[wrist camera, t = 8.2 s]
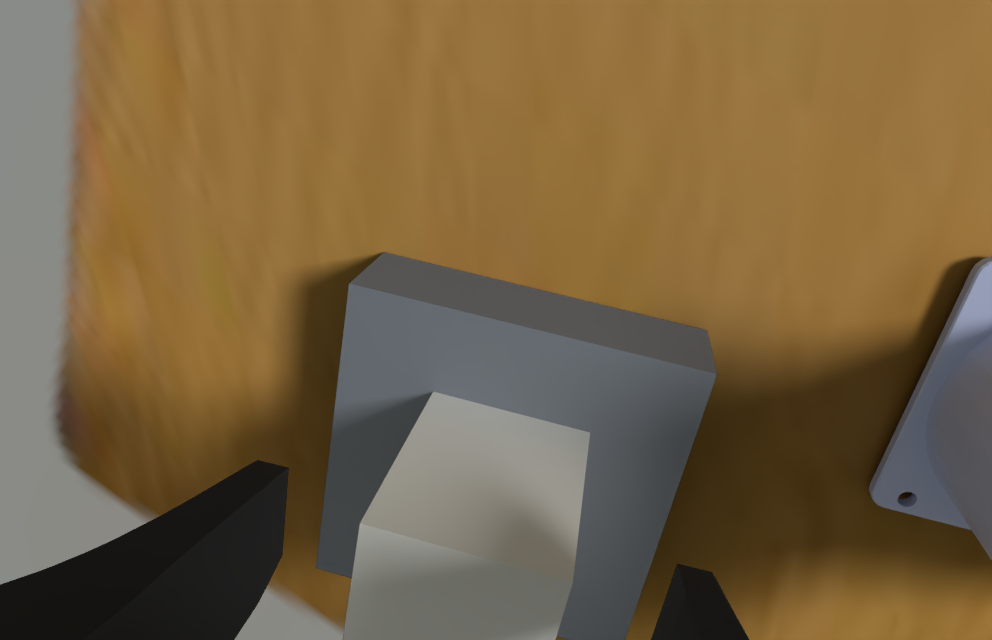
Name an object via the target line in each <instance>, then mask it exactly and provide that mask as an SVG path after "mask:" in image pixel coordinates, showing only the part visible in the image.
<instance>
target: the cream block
mask: <svg viewBox="0 0 992 640" xmlns="http://www.w3.org/2000/svg"><path fill="white" fill-rule="evenodd" d="M589 438H590V432H586V431H582V430H578V429H574V428H571V427H567V426H563V425H559V424H555V423H552V422H548V421H544V420H540V419H536V418H532V417H529V416H525V415H521V414H517V413H513V412H509V411H506V410H502V409H498V408H494V407H490V406H487V405H483V404H479V403H475V402H471V401H467V400H464V399H460V398H456V397H452V396H448V395H445V394H441V393H437V392H433V393H432V395H431V397H430V398H429V400H428V402H427V404H426V406H425V407H424V409H423V411H422V413H421V415H420V416H419V418H418V420H417V422H416V423H415V425H414V427H413V429H412V431H411V432H410V434H409V436H408V438H407V440H406V441H405V443H404V445H403V447H402V449H401V450H400V452H399V454H398V456H397V458H396V459H395V461H394V463H393V465H392V467H391V468H390V470H389V472H388V474H387V476H386V477H385V479H384V481H383V483H382V485H381V486H380V488H379V490H378V492H377V494H376V495H375V497H374V499H373V501H372V502H371V504H370V506H369V508H368V510H367V511H366V513H365V515H364V517H363V519H362V520H361V522H360V526H359V533H358V539H357V546H356V553H355V560H354V566H353V573H352V580H351V587H350V594H349V600H348V607H347V614H346V621H345V627H344V634H343V640H556V636H557V633H558V630H559V627H560V623H561V620H562V617H563V613H564V610H565V607H566V603H567V600H568V597H569V594H570V590H571V587H572V584H573V576H574V568H575V559H576V550H577V542H578V533H579V524H580V516H581V507H582V499H583V490H584V481H585V473H586V464H587V455H588V447H589Z"/></svg>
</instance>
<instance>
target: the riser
mask: <svg viewBox="0 0 992 640" xmlns="http://www.w3.org/2000/svg"><path fill="white" fill-rule="evenodd" d="M716 376H717V371H716V367H715V363H714V358H713V354H712V349H711V345H710V341H709V336H708V332H707V330H704V329H700V328H695V327H691V326H687V325H683V324H679V323H675V322H671V321H666V320H662V319H658V318H654V317H650V316H646V315H642V314H637V313H633V312H629V311H625V310H621V309H617V308H612V307H608V306H604V305H600V304H596V303H592V302H588V301H583V300H579V299H575V298H571V297H567V296H563V295H559V294H554V293H550V292H546V291H542V290H538V289H534V288H530V287H525V286H521V285H517V284H513V283H509V282H505V281H501V280H496V279H492V278H488V277H484V276H480V275H476V274H472V273H467V272H463V271H459V270H455V269H451V268H447V267H443V266H438V265H434V264H430V263H426V262H422V261H418V260H414V259H409V258H405V257H401V256H397V255H393V254H389V253H385V252H384V253H383V254H381V255H380V256H379V257H378V258H377V259H376V260H375V261H374V262H373V263H371V264H370V265H369V266H368V267H367V268H366V269H365V270H364V271H362V272H361V273H360V274H359V275H358V276H357V277H356V278H355V279H354V280H352V281H351V282H350V283H349V288H348V297H347V305H346V314H345V323H344V331H343V340H342V348H341V357H340V366H339V374H338V383H337V391H336V400H335V409H334V417H333V426H332V434H331V443H330V452H329V460H328V469H327V477H326V486H325V495H324V503H323V512H322V520H321V529H320V538H319V546H318V555H317V563H316V568H318V569H321V570H325V571H328V572H332V573H335V574H339V575H342V576H346V577H349V578H352V573H353V566H354V560H355V553H356V546H357V539H358V533H359V526H360V522H361V520H362V519H363V517H364V515H365V513H366V511H367V510H368V508H369V506H370V504H371V502H372V501H373V499H374V497H375V495H376V494H377V492H378V490H379V488H380V486H381V485H382V483H383V481H384V479H385V477H386V476H387V474H388V472H389V470H390V468H391V467H392V465H393V463H394V461H395V459H396V458H397V456H398V454H399V452H400V450H401V449H402V447H403V445H404V443H405V441H406V440H407V438H408V436H409V434H410V432H411V431H412V429H413V427H414V425H415V423H416V422H417V420H418V418H419V416H420V415H421V413H422V411H423V409H424V407H425V406H426V404H427V402H428V400H429V398H430V397H431V395H432V393H433V392H437V393H441V394H445V395H448V396H452V397H456V398H460V399H464V400H467V401H471V402H475V403H479V404H483V405H487V406H490V407H494V408H498V409H502V410H506V411H509V412H513V413H517V414H521V415H525V416H529V417H532V418H536V419H540V420H544V421H548V422H552V423H555V424H559V425H563V426H567V427H571V428H574V429H578V430H582V431H586V432H590V438H589V447H588V455H587V464H586V473H585V481H584V490H583V499H582V507H581V516H580V524H579V533H578V542H577V550H576V559H575V568H574V576H573V584H572V587H571V590H570V594H569V597H568V600H567V603H566V607H565V610H564V613H563V617H562V620H561V623H560V627H559V630H558V633H557V637H561V638H564V639H568V640H625V638H626V635H627V632H628V629H629V626H630V623H631V621H632V618H633V615H634V612H635V609H636V606H637V603H638V600H639V598H640V595H641V592H642V589H643V586H644V583H645V580H646V577H647V575H648V572H649V569H650V566H651V563H652V560H653V557H654V554H655V552H656V549H657V546H658V543H659V540H660V537H661V534H662V531H663V529H664V526H665V523H666V520H667V517H668V514H669V511H670V508H671V506H672V503H673V500H674V497H675V494H676V491H677V488H678V485H679V483H680V480H681V477H682V474H683V471H684V468H685V465H686V462H687V460H688V457H689V454H690V451H691V448H692V445H693V442H694V439H695V437H696V434H697V431H698V428H699V425H700V422H701V419H702V416H703V414H704V411H705V408H706V405H707V402H708V399H709V396H710V393H711V391H712V388H713V385H714V382H715V379H716Z"/></svg>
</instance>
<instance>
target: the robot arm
mask: <svg viewBox="0 0 992 640" xmlns="http://www.w3.org/2000/svg"><path fill="white" fill-rule="evenodd" d="M288 471H289V468H287V467H283V466H279V465H275V464H271V463H267V462H263V461H259V460H257V461H255V462H253V463H252V464H250V465H248V466H246V467H245V468H243V469H241V470H240V471H238V472H236V473H234V474H233V475H231V476H229V477H228V478H226V479H224V480H222V481H221V482H219V483H217V484H216V485H214V486H212V487H211V488H209V489H207V490H205V491H204V492H202V493H200V494H199V495H197V496H195V497H193V498H192V499H190V500H188V501H186V502H185V503H183V504H181V505H179V506H177V507H176V508H174V509H172V510H170V511H169V512H167V513H165V514H163V515H161V516H159V517H158V518H156V519H154V520H152V521H150V522H148V523H146V524H144V525H142V526H140V527H138V528H136V529H134V530H132V531H130V532H128V533H127V534H124V535H122V536H120V537H118V538H116V539H114V540H112V541H110V542H108V543H106V544H104V545H102V546H99V547H97V548H95V549H93V550H91V551H88V552H86V553H84V554H81V555H79V556H77V557H74V558H71V559H69V560H67V561H64V562H62V563H59V564H57V565H55V566H52V567H49V568H47V569H44V570H41V571H39V572H36V573H33V574H30V575H27V576H24V577H21V578H18V579H16V580H13V581H10V582H7V583H4V584H1V585H0V640H234V639H235V637H236V636H237V635H238V633H239V631H240V630H241V628H242V627H243V625H244V624H245V622H246V621H247V619H248V618H249V616H250V615H251V613H252V612H253V610H254V609H255V607H256V605H257V604H258V602H259V600H260V598H261V597H262V595H263V593H264V591H265V589H266V587H267V585H268V583H269V581H270V579H271V577H272V575H273V573H274V571H275V569H276V567H277V565H278V563H279V561H280V559H281V557H282V552H283V538H284V525H285V511H286V498H287V484H288ZM869 492H870V495H871V497H872V499H873V501H874V502H875V503H876V504H877V505H879V506H881V507H883V508H887V509H891V510H895V511H899V512H902V513H906V514H910V515H914V516H918V517H922V518H926V519H930V520H934V521H937V522H941V523H945V524H949V525H953V526H957V527H961V528H965V529H969V530H972V532H973V533H974V535H975V536H976V538H977V539H978V541H979V542H980V544H981V545H982V547H983V548H984V550H985V551H986V553H987V554H988V556H989V557H990V559H991V560H992V257H988V258H984V259H982V260H981V261H979V262H978V263H976V264H975V266H974V267H973V268H972V270H971V271H970V274H969V276H968V278H967V280H966V282H965V284H964V286H963V288H962V290H961V293H960V295H959V297H958V299H957V301H956V303H955V305H954V307H953V309H952V312H951V314H950V316H949V318H948V320H947V322H946V324H945V326H944V329H943V331H942V333H941V335H940V337H939V339H938V341H937V343H936V345H935V348H934V350H933V352H932V354H931V356H930V358H929V360H928V362H927V364H926V367H925V369H924V371H923V373H922V375H921V377H920V379H919V381H918V384H917V386H916V388H915V390H914V392H913V394H912V396H911V398H910V400H909V403H908V405H907V407H906V409H905V411H904V413H903V415H902V417H901V419H900V422H899V424H898V426H897V428H896V430H895V432H894V434H893V436H892V438H891V441H890V443H889V445H888V447H887V449H886V451H885V453H884V455H883V458H882V460H881V462H880V464H879V466H878V468H877V470H876V472H875V474H874V477H873V479H872V481H871V483H870V486H869ZM904 492H912V495H911V496H910V497H909V498H906V499H899V498H898V497H899V496H900V494H902V493H904ZM651 640H749V638H748V636H747V635H746V633H745V631H744V629H743V628H742V626H741V624H740V622H739V620H738V619H737V617H736V615H735V613H734V611H733V609H732V608H731V606H730V604H729V602H728V600H727V598H726V597H725V595H724V593H723V591H722V589H721V587H720V586H719V584H718V582H717V580H716V578H715V577H714V575H713V573H712V572H709V571H705V570H700V569H696V568H692V567H688V566H684V565H680V564H677V566H676V569H675V572H674V575H673V578H672V580H671V583H670V586H669V589H668V592H667V595H666V598H665V601H664V604H663V607H662V610H661V612H660V615H659V618H658V621H657V624H656V627H655V630H654V633H653V636H652V639H651Z"/></svg>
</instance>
